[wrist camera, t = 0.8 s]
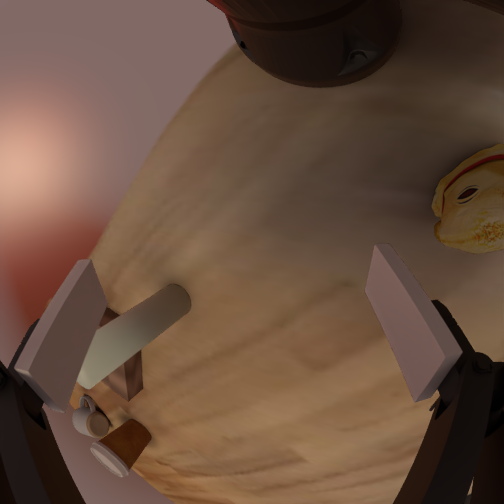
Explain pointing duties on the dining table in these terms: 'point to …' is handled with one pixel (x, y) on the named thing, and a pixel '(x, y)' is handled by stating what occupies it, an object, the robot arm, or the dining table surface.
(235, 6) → the robot arm
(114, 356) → the peg
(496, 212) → the chocolate bunny
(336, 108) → the dining table surface
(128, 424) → the disposable coffee cup
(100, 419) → the ceramic mug
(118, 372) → the socket block
